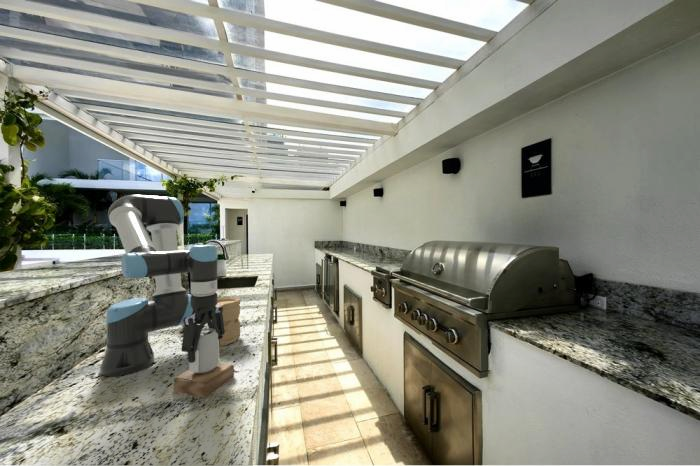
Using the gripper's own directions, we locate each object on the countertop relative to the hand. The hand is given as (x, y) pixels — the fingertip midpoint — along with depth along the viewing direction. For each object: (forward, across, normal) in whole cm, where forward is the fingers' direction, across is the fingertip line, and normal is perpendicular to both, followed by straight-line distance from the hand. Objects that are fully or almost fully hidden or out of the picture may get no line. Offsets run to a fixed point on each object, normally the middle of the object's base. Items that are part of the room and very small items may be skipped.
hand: (205, 364), depth 87 cm
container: (+6, +30, +18) cm, 36 cm away
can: (+1, 0, 0) cm, 1 cm away
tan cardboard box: (+6, 0, 0) cm, 6 cm away
